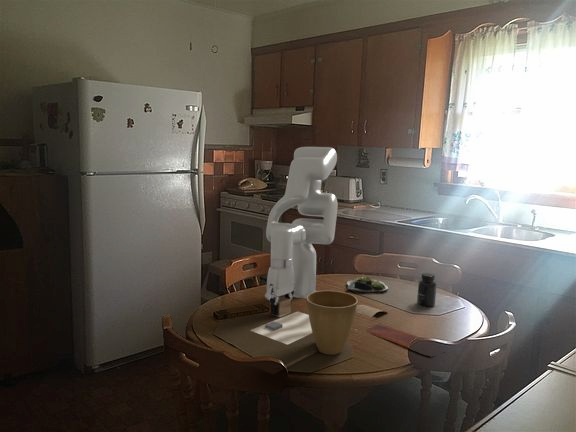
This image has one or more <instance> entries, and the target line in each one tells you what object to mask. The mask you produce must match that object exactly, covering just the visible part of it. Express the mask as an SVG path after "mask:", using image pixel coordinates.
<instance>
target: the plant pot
mask: <svg viewBox="0 0 576 432" xmlns="http://www.w3.org/2000/svg"><path fill="white" fill-rule="evenodd" d="M316 291H317V292H313V293H311V294H309V295H308V296H307V298H306V302H307V303H306V304H307V312H308V315H309V319H310V324H311V329H312V336H313V339H314V340H313V341H314V343H315V345H316V348H317V350H318V351H319V352H320V353H322V354H325V355H333V356H334V355H338V354H340V353H342V352H343V349H344V348H345V345H346V343H347V341H348V338H349V335H350V332H351V331H352V327H353V323H354V319H355V315H356V313H357V312H356V307H357V305H358V302H359V301H358V298H357V297H356V296H354V295H352V294H350V293H347V292H343V291H337V290H316Z"/></svg>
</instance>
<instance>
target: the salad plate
mask: <svg viewBox="0 0 576 432" xmlns="http://www.w3.org/2000/svg"><path fill="white" fill-rule="evenodd" d="M346 284H347V289H348V290H350V291H352V292H353V293H357V294H362V293H380V294H385V293H386V292H387V291H388V290H389V287H388V286H387V285H386V283H384V282H383V281H381V280H378V279H377V280H376V279H372V278H370V277H369V276H367V277H363V276H360V277H356V279H354V280H353V279H351V280H349V281H347V282H346ZM384 292H385V293H384Z"/></svg>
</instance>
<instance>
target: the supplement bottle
mask: <svg viewBox="0 0 576 432" xmlns="http://www.w3.org/2000/svg"><path fill="white" fill-rule="evenodd" d="M435 280H436V279H435V274H433V273H431V272H430V273H429V272H423V273H421V277H420V280H418V283H417V284H418V285H417V297H416V304H417V305H418V306H420V305H421V307H424V306H425V308H431V307H432V308H433V307H434V306H435V305H436V297H437V282H436V281H435Z"/></svg>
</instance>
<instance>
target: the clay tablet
mask: <svg viewBox="0 0 576 432" xmlns="http://www.w3.org/2000/svg"><path fill="white" fill-rule="evenodd" d="M379 312H383V313H386V314H388V312H387V311H384V310H381V309H378V308H375V307H372V306H369V305H366V304H357V307H356V312H355V313H357V314H360V315H363V316H366V317H369V318H373V317H374V315H376V314H377V313H379Z"/></svg>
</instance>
